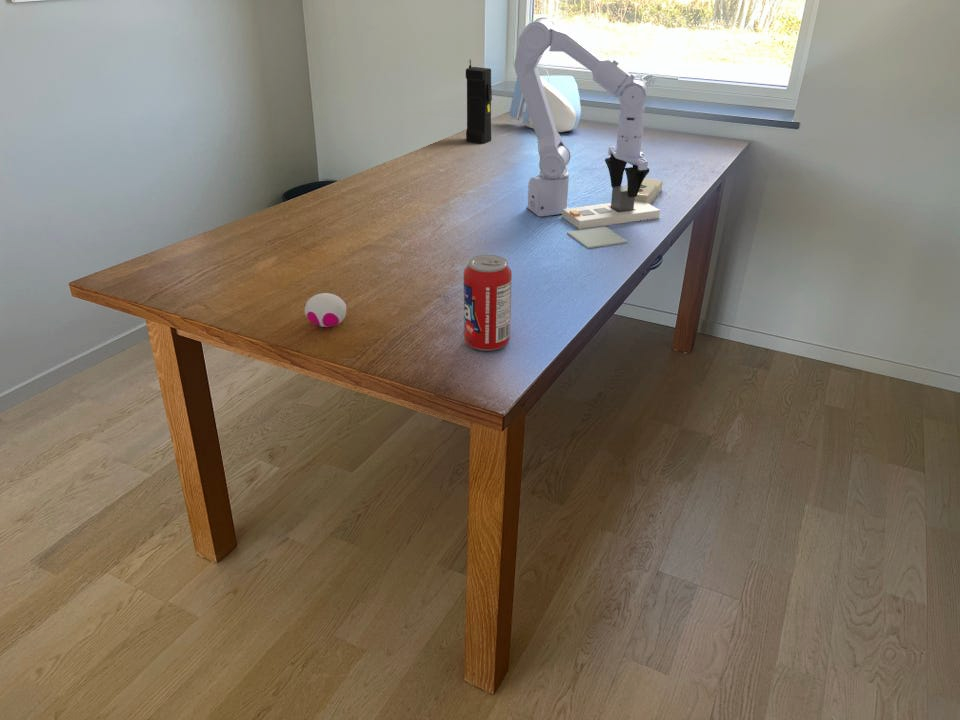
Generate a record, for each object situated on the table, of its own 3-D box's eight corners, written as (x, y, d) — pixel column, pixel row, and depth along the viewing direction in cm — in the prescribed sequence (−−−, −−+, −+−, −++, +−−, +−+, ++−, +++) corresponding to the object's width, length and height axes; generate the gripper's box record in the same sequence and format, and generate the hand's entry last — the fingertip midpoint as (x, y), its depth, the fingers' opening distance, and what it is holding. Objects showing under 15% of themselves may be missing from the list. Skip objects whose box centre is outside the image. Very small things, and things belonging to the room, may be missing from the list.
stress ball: (306, 343, 135) (293, 326, 129) (316, 304, 138) (304, 286, 132) (346, 345, 134) (335, 328, 128) (355, 306, 137) (344, 288, 131)
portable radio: (495, 140, 247) (496, 60, 235) (485, 144, 243) (486, 62, 230) (474, 137, 251) (475, 58, 238) (465, 141, 246) (464, 60, 234)
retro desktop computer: (522, 53, 251) (556, 48, 260) (508, 116, 267) (541, 109, 275) (571, 86, 239) (605, 80, 248) (553, 149, 255) (586, 141, 263)
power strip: (579, 229, 177) (580, 218, 175) (562, 216, 184) (562, 206, 182) (659, 217, 184) (660, 207, 182) (639, 206, 191) (640, 196, 189)
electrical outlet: (663, 176, 201) (647, 195, 187) (661, 191, 203) (645, 211, 189) (636, 173, 203) (619, 192, 189) (635, 188, 206) (618, 207, 191)
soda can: (506, 356, 125) (508, 273, 117) (459, 352, 126) (459, 269, 118) (512, 334, 131) (515, 254, 124) (468, 330, 133) (468, 251, 125)
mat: (587, 248, 166) (587, 246, 166) (567, 233, 174) (567, 231, 174) (626, 242, 169) (627, 241, 169) (604, 228, 177) (605, 226, 177)
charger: (618, 219, 182) (621, 191, 179) (610, 214, 186) (612, 186, 182) (632, 217, 184) (635, 189, 180) (624, 212, 187) (627, 185, 183)
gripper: (661, 140, 170) (654, 198, 177) (628, 126, 182) (622, 181, 189) (634, 143, 168) (628, 202, 175) (602, 129, 179) (598, 184, 186)
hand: (624, 191), depth 181 cm, fingers open, 7 cm apart
